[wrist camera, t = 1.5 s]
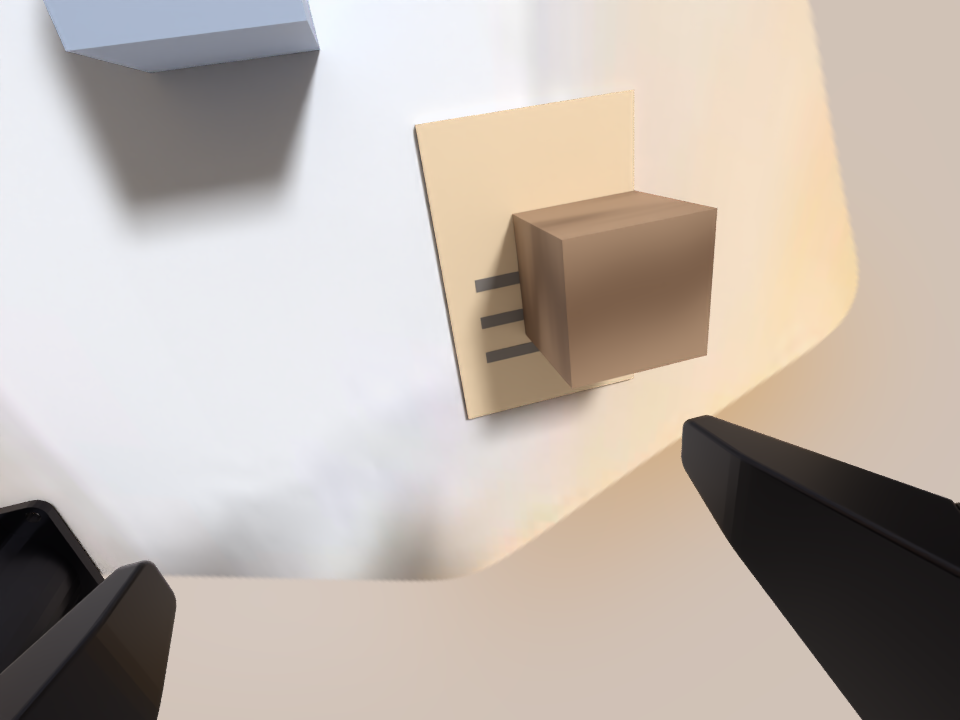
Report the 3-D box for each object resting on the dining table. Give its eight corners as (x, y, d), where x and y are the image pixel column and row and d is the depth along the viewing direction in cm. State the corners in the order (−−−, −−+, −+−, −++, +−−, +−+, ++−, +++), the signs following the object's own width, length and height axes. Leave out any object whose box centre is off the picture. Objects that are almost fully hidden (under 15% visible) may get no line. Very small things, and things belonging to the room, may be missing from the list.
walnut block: (634, 309, 22) (706, 355, 17) (525, 334, 21) (571, 388, 17) (633, 190, 19) (717, 208, 15) (512, 213, 19) (562, 240, 14)
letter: (631, 376, 23) (634, 378, 23) (468, 416, 22) (469, 419, 22) (631, 89, 18) (634, 89, 18) (415, 124, 17) (415, 124, 17)
